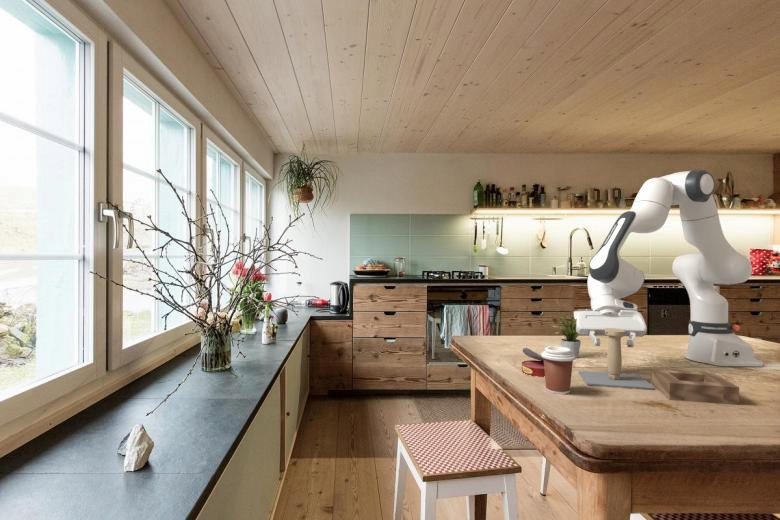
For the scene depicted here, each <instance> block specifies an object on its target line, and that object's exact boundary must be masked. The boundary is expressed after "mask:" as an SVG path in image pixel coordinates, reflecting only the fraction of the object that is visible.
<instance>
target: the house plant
mask: <svg viewBox="0 0 780 520" xmlns="http://www.w3.org/2000/svg"><path fill="white" fill-rule="evenodd" d="M559 317H560V318H561V319H560V320H557V319H556V318H554V321H556V322H557V323H559V324H560V323H561V324H560V326H557V325H551V327H553V328H555V329H554V330H556V331H555V332H554V334H555V336H556V334H557V335H558V334H559V333H560V334H561V335H563V337H564V338H560V345H561V347H566V348H569V349H571V353H573V354H574V355H575V359H578V358H579V353H580V349H581V344H582V341H581V339H577V338H578V337H579V336H580V335H579V334H578V333H577V332H576V319H575V318H574V314H572V316H571V318H570V322H569V320H568V319H567V317H566V316H565V315H563V316H560V315H559ZM550 319H553V318H550ZM556 328H557V329H556ZM557 330H558V331H557ZM559 330H560V331H559Z"/></svg>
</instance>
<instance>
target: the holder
mask: <svg viewBox="0 0 780 520" xmlns="http://www.w3.org/2000/svg"><path fill="white" fill-rule="evenodd" d="M651 385H652V386H653V387H654V388H655V389H657V390H658V391H659V392H660V393H661V394H662V395H664V396H665V397H666V398H667V399H668V400H669V401H684V402H685V401H686V402H699V403H709V404H710V403H712V404H713V403H714V404H726V405H740V387H739V386H737V385H736V384H734V383H732V382H731V381H729V380H727V379H725V378H724V377H722V376H720V375H718V374H716V373H715V372H708V371H692V370H691V371H689V370H671V369H655V368H654V369H652V368H651Z"/></svg>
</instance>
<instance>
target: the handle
mask: <svg viewBox="0 0 780 520" xmlns="http://www.w3.org/2000/svg"><path fill="white" fill-rule="evenodd" d="M605 334H606V335H607V336H606V337H608V344H607V345H608V347H607V361H606V362H607V365H606V366H607V373H609V374H608V375H609V379H613V380H619V379H620V374H621V373H622V368H623V367H622V364H623V362H622V359H623V357H622V344H621V343H622V341H621V340H622V339H621V338H623V337H626V336H625V331H624V330H621V329H615V328H605Z"/></svg>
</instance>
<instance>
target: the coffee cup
mask: <svg viewBox="0 0 780 520" xmlns="http://www.w3.org/2000/svg"><path fill="white" fill-rule="evenodd" d="M540 355H541V357H542V358H544V370H545V377H544V378H545V379H544V380H545V390H547V392H548V391H549V392H548V393H550V392H553V393H552V394H554V393H559V394H558V395H568V394H570V393H571V383H572V376H573V375H572V374H573V363H574V361H575V360H576V358H575V355H574V354H573V353H571V349H569V348H566V347H562V346H557V345H550V346H546V347H545V348H544V350H543V351H542V352H541V354H540ZM569 392H570V393H569ZM567 393H568V394H567Z"/></svg>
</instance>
